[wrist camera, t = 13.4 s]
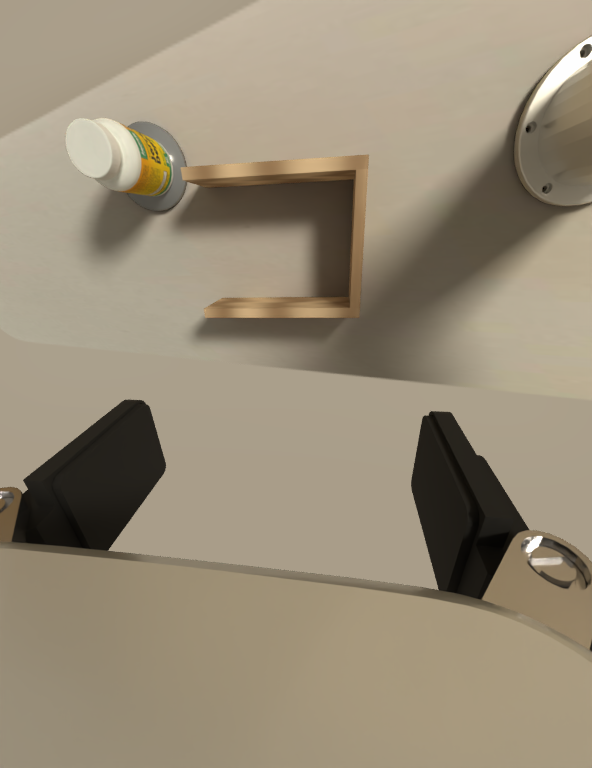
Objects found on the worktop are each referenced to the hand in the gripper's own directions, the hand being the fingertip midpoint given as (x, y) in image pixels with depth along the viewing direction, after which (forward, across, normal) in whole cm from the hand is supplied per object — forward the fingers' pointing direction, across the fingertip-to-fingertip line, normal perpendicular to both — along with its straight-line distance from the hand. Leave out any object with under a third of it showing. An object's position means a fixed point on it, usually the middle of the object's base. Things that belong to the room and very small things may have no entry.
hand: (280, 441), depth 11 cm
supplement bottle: (+30, +19, -13) cm, 38 cm away
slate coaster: (+30, +19, -13) cm, 38 cm away
